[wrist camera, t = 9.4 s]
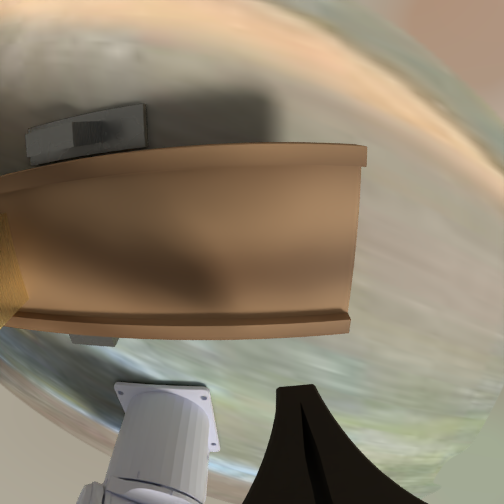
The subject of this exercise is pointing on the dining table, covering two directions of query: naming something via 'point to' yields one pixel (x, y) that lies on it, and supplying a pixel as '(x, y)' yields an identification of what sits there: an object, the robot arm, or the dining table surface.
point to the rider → (9, 276)
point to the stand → (89, 151)
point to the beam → (189, 241)
